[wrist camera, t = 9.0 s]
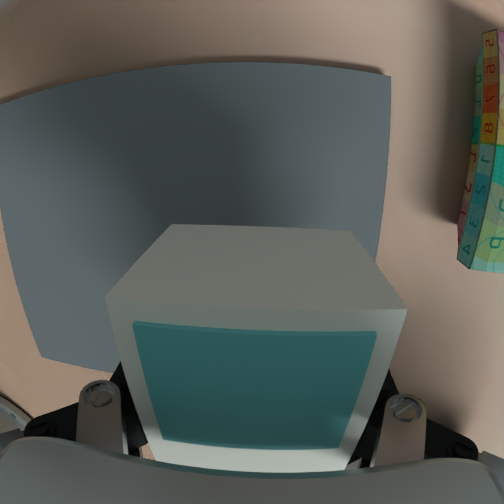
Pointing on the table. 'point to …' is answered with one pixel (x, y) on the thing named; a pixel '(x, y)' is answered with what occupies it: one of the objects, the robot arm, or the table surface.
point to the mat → (177, 175)
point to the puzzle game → (485, 165)
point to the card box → (255, 345)
